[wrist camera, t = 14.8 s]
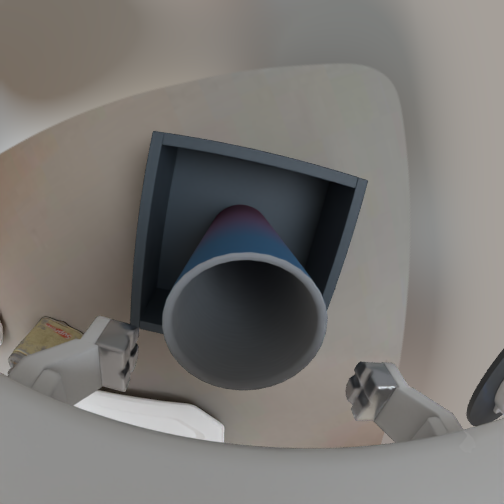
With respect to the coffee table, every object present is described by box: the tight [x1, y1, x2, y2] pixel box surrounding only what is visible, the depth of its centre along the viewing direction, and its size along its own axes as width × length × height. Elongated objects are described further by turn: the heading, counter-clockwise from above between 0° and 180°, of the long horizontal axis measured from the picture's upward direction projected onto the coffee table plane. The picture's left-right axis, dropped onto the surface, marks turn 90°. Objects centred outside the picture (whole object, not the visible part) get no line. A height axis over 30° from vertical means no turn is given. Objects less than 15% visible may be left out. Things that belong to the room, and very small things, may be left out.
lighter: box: [8, 317, 83, 374], centre depth 25 cm, size 7×4×10 cm, turn 69°
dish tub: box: [130, 131, 368, 334], centre depth 24 cm, size 15×15×7 cm
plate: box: [74, 390, 225, 443], centre depth 35 cm, size 25×25×2 cm
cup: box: [162, 205, 327, 390], centre depth 19 cm, size 7×7×15 cm
